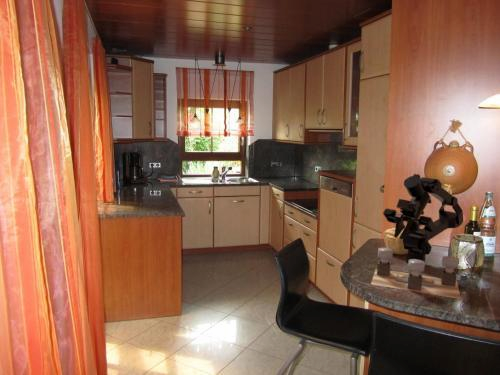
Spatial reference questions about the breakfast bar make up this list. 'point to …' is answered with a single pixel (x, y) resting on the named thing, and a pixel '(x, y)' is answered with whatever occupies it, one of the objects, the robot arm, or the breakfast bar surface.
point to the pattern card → (424, 281)
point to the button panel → (417, 282)
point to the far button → (416, 267)
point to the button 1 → (385, 255)
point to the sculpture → (394, 242)
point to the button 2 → (450, 264)
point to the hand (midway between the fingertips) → (397, 237)
